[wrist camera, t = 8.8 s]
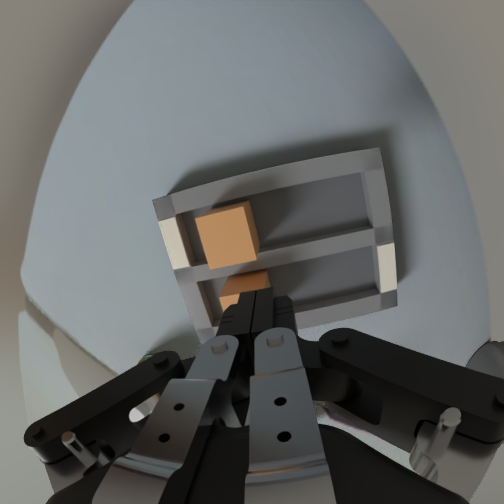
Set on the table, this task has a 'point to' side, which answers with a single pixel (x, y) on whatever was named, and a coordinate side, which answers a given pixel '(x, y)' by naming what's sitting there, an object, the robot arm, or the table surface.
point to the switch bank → (294, 238)
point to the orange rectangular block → (243, 285)
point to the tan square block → (229, 235)
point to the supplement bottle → (143, 404)
